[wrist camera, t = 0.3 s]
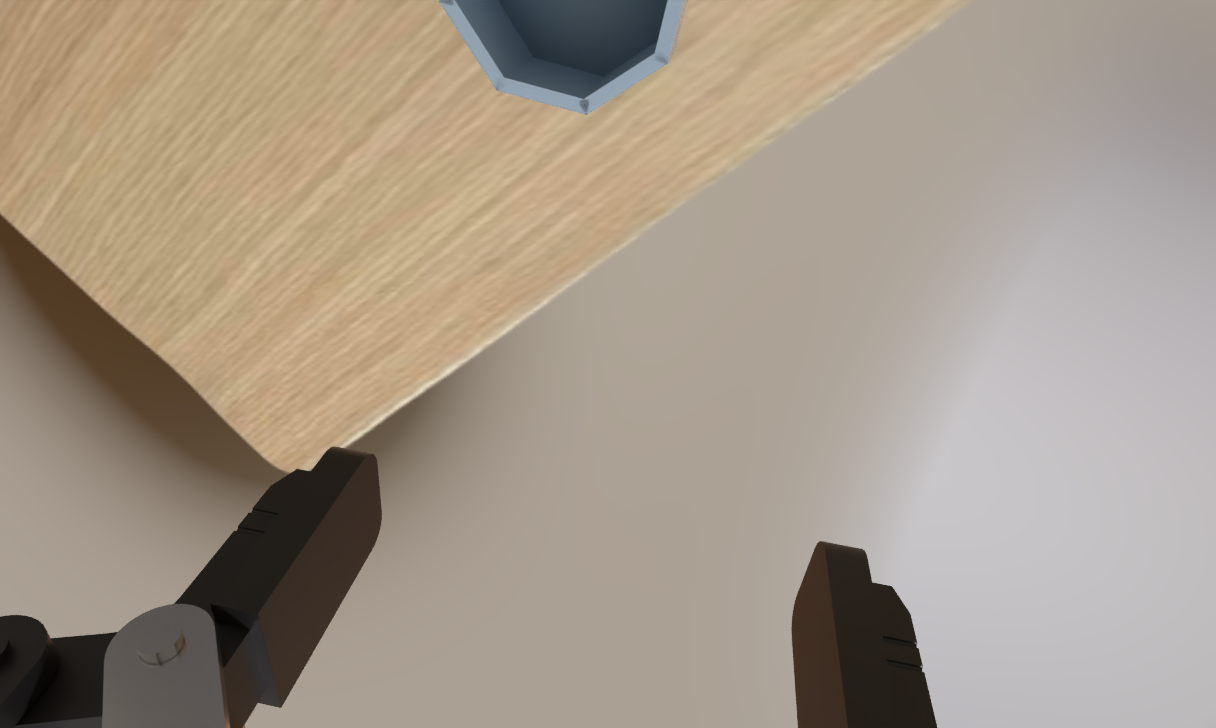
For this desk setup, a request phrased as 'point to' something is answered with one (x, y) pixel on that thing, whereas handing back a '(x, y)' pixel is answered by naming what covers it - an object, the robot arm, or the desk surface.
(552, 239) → the desk surface
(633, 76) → the bowl
